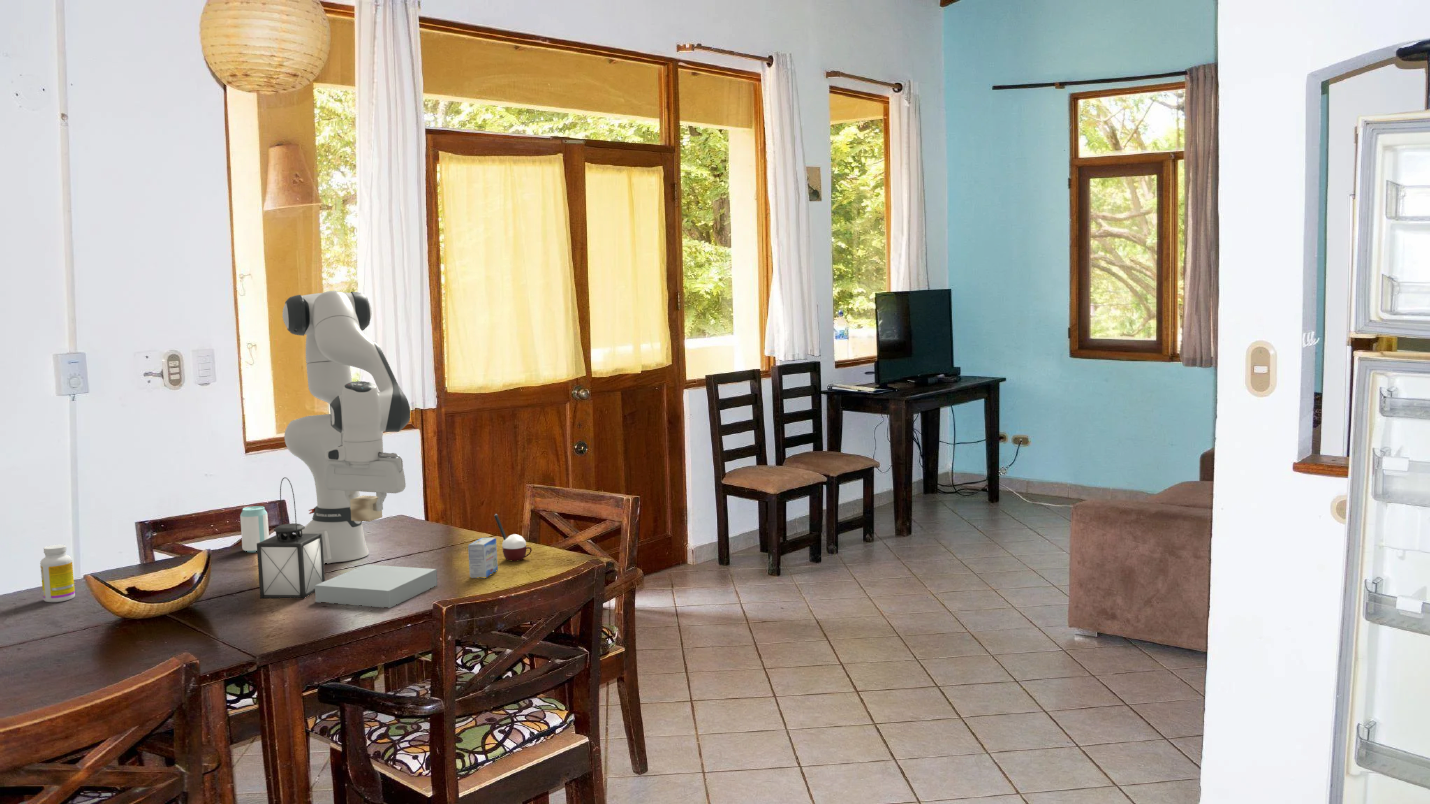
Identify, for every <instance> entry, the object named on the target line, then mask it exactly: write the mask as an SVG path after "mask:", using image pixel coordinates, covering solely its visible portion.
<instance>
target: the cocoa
mask: <svg viewBox="0 0 1430 804" xmlns="http://www.w3.org/2000/svg"><path fill="white" fill-rule="evenodd" d="M494 519H495V521H496V524H497V527H498V530H499V531H500V534H501V536H502V539H503V540H502V543H501V544H502V545H501V546H502V548H501V549H502V553H503V556H504V558H505V559H506V560H507V561H508V560H512V561H511V562H518V561H517V560H520V561H522V560H523V559H525V558H526V557H528V556H530V554H531V553H532V550H533V549H532V547H530V546H527V543H526V542H527V541H526V540H525V538H524V537H523V536H522V535H519V534H516V533H513V534H510V535H508V536H507V535H506V533H505V532H506V531H505V530H504V527H503V526H502V523H501V519H500V517H499V516H498V514H497V513H495V514H494ZM527 549H529V552H528V553H527Z"/></svg>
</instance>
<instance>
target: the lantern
mask: <svg viewBox="0 0 1430 804" xmlns="http://www.w3.org/2000/svg"><path fill="white" fill-rule="evenodd" d="M284 479H286V480H287V481H288V482H289V485H290V488H291V492H292V497H293V498H292V499H293V507H294V519H295V520H294V521H295V523H293V522H291V523H283V510H282V509H283V508H282V483H283V481H284ZM279 499H280V500H279V501H280V517H281V524H280V525H278V526H276V527H275V528H274V529H273V532H275V533H276V534H275V535H273V536H271V537H269V539H266V540H264V541H262V542H260V543H257V552H256V554H257V555H256V556H257V569H258V583H259V584H258V585H259V599H280V598H305V597H306V598H307V596H308V595H309V596H311V595H312V594H311V593H313V594H315V593H314V592H315V585H317V584H319V583H322V582H324V581H326V577H325V575H326V574H325V564H324V556H323V539H322V534H320V533H319V534H302V530H303V529H304V528H305V526H306V525H305V526H304V525H302V524H301V523H297V513H296V512H297V510H296V501H295V494H294V488H293V485H292V483H291V481H290V480H289V478H288V477H283V478H282V479H281V481H280V487H279ZM300 531H301V534H300ZM310 594H311V595H310ZM309 596H308V597H309ZM306 598H305V599H306Z"/></svg>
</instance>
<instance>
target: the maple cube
mask: <svg viewBox="0 0 1430 804" xmlns="http://www.w3.org/2000/svg"><path fill="white" fill-rule="evenodd" d="M377 500H378V497H376V495H365V494H364V495H360V497H357V498H354V499H350V506H351V521H362V522H369V523H370V522H373V521H376V520H379V519H382V518H383V510H382V511H374V510H373V508H374V507H373V504H374V503H376V502H377Z"/></svg>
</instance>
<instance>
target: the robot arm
mask: <svg viewBox="0 0 1430 804" xmlns="http://www.w3.org/2000/svg"><path fill="white" fill-rule="evenodd" d="M372 312H373V311H372V306H371V303H370V302H369V299H368V297H367V296H366V295H365V293H361V292H357V291H351V292H347V291H346V292H344V291H338V290H328V291H324V292H318V293H311V294H310V293H309V294H304V295H301V294H296V295H293V296H290V297H288V298H287V299H286V300H285V302H284V306H283V308H282V319H283V320H282V321H283V323H284V325H285V327H286V329H287V331H288V332H289V333H290V334H292V335H296V336H303V337H304V336H305V335H306V337H305V363H306V365H305V367H306V375H307V385H308V386H307V387H308V390H309V392H310V394H311V395H312V396H313V397H314V398H316V399H318V400H320V401H323V402H325V403H328V404H329V411H330V413H328V414H316V415H306V416H303V417H300V418H296V419H293V420H291V421H290V422H289V423H288V424H287V426H286V428H285V431H284V443H285V445H286V448H287V449H288V451H289V452H290V453H291V454H292V455H294V456H295V457H296V458H298V459H300V460H301V461H302V462H303V463H304V464H305V465H306V466H307V467H308V469H309V471H310V473H311V474H312V476H313V481H314V486H315V492H316V494H315V495H316V504H317V505H316V506H315V507H313V508H311V509H308V512H309V513H308V515H311V514H313V515H312V517H311V520H310V522H308V523H307V524H306V525H305V528H304V529H303V530H302V534H319V533H320V534H322V539H323V556H324V565H325V563H327V564H331V563H341V562H348V561H354V560H359V559H361V558H365V557H367V556H369V555H370V551H369V549H368V546H367V542H366V538H365V533H364V528H363V521H351V506H350V499H354V498H357V497H360V496H361V495H360V493H361V492H363V493H375V496H376V497H378V500H377V502H376V503H374V504H373V507H374V508H373V510H374V511H382V512H383V510H384V502H385V500H386V498H387V494H399V493H401V492H403V491H404V490H405V488H406V487H407V485H406V484H407V483H406V477H405V476H406V475H405V472H404V471H405V470H404V464H403V463H404V461H403V459H402V458H401V456H400V455H398V454H397V453H396V452H391V453H389V452H384V448H383V446H384V443H383V440H384V439H383V435H384V432H385V433H399V432H400V431H401V430H403V429H404V428H405V427H406V426H407V425H408V423H409V422H410V420H411V408H410V407H411V406H410V402H409V400H408V398H407V396H406V394H405V393H404V391H402V388H401V387H400V386H399V382H398V380H397V379H396V377H395V375H394V373H393V371H392V369H391V366H390V364H389V362H388V360H387V357H386V355H385V354H384V351H383V350H382V347H380V345H379V344H378V343H377V342H376V341H373V340H372V339H370V338H369V337H368V336H367V335H366V334H365V333H364V332H363V331H365V330H366V328H368V327H369V326H370V323H371V319H372ZM351 367H354V368H357V369H361V370H363V371H365V372H368V373H369V374H370V375H371V376H372V378H373V380H374V382H375V384H374V383H373V382H370V381H363V380H358V381H353V379H352V373H351V372H352V371H351ZM300 534H301V531H300Z"/></svg>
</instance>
